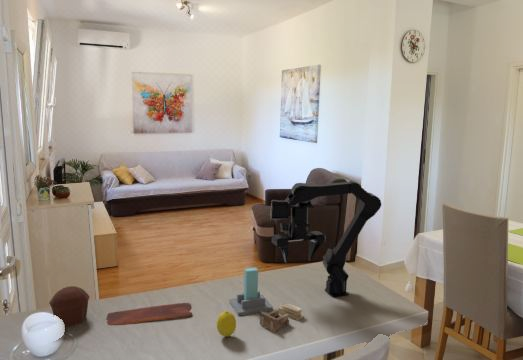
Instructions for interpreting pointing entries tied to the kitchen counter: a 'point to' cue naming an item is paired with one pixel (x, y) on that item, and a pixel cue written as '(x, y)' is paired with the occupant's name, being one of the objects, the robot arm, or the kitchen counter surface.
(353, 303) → the kitchen counter surface
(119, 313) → the wooden tablet
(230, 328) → the lemon
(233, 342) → the kitchen counter surface
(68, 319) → the muffin
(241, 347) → the kitchen counter surface
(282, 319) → the stand
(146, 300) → the kitchen counter surface
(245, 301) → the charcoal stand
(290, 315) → the offcut stack
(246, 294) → the teal rectangular block
